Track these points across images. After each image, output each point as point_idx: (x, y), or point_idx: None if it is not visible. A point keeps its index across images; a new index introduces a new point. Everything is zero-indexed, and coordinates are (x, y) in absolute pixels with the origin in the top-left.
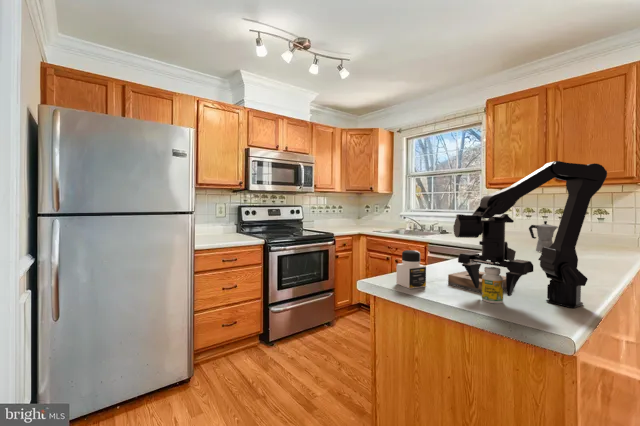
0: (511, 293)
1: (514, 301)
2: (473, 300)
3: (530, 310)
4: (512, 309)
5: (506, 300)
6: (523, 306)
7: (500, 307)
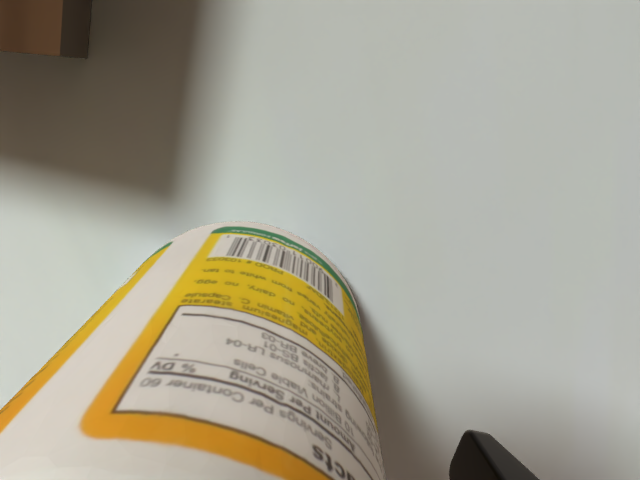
0: (508, 462)
1: (463, 149)
2: None
3: (635, 379)
4: None
5: (370, 177)
6: (571, 291)
7: None
